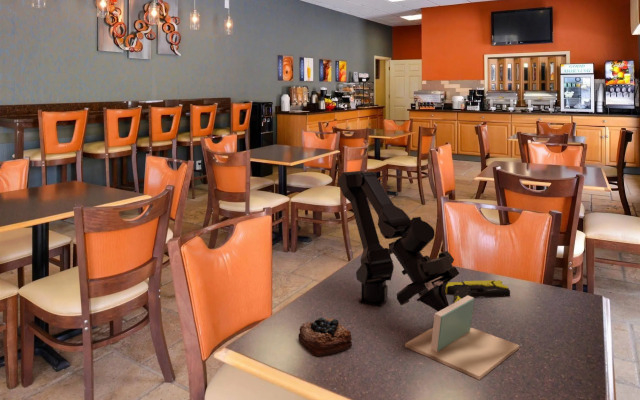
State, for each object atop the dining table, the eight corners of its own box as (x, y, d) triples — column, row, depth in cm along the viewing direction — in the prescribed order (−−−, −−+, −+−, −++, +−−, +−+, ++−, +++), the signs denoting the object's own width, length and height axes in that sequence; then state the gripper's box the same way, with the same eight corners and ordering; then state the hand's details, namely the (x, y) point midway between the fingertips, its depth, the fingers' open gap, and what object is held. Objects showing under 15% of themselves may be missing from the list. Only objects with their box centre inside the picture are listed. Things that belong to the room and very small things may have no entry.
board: (405, 346, 117) (405, 343, 117) (447, 321, 129) (447, 318, 129) (479, 379, 104) (479, 376, 104) (519, 348, 116) (519, 345, 116)
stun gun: (523, 299, 136) (500, 279, 151) (454, 301, 135) (438, 280, 150) (522, 309, 137) (500, 288, 152) (453, 311, 136) (437, 289, 150)
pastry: (315, 361, 112) (315, 337, 111) (293, 338, 123) (292, 316, 121) (357, 348, 117) (357, 325, 116) (332, 327, 128) (332, 306, 126)
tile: (430, 349, 114) (434, 313, 112) (463, 328, 124) (467, 295, 121) (437, 352, 113) (442, 316, 111) (470, 331, 122) (474, 298, 120)
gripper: (408, 251, 111) (449, 313, 106) (454, 234, 124) (493, 288, 118) (380, 276, 119) (417, 334, 113) (426, 257, 131) (462, 309, 126)
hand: (449, 315), depth 117 cm, fingers closed
